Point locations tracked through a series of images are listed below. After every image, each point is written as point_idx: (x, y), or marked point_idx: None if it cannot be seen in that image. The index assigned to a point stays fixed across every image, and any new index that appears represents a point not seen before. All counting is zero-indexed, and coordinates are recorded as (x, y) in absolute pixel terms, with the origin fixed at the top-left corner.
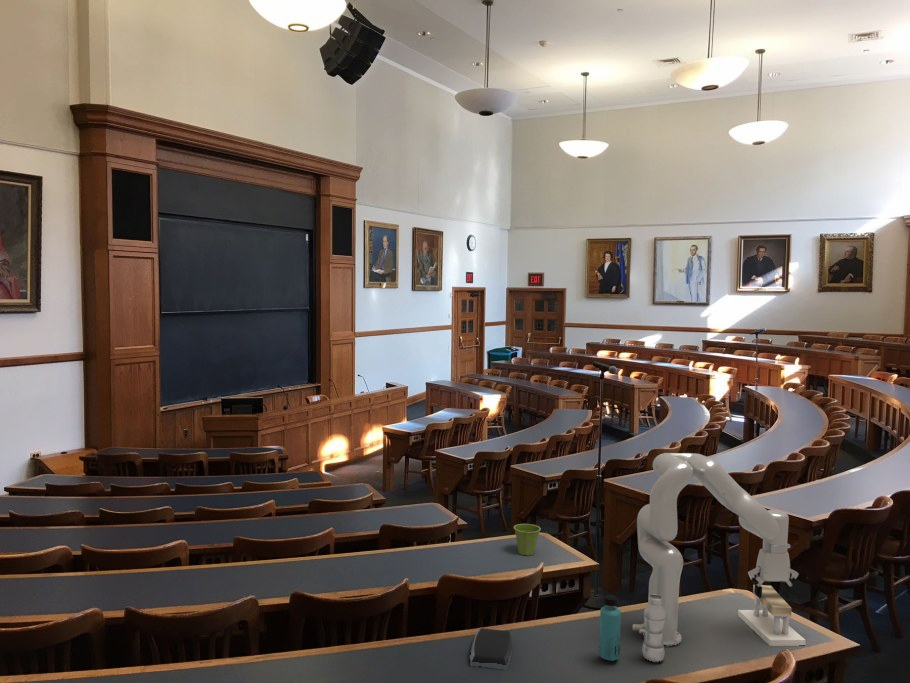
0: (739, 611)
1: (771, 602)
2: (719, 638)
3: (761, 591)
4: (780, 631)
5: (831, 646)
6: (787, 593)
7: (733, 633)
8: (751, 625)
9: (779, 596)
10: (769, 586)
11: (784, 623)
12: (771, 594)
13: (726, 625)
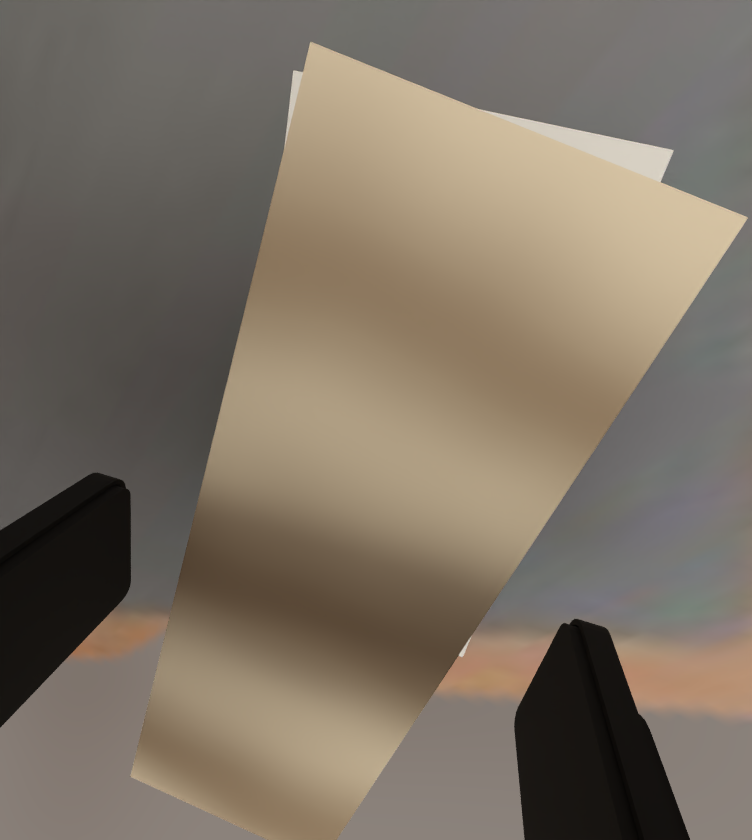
0: (289, 109)
1: (178, 719)
2: (7, 402)
3: (36, 678)
4: None
5: None
6: (527, 799)
7: (116, 374)
8: None
9: (426, 661)
10: (653, 258)
11: None
12: (352, 572)
13: (120, 254)
